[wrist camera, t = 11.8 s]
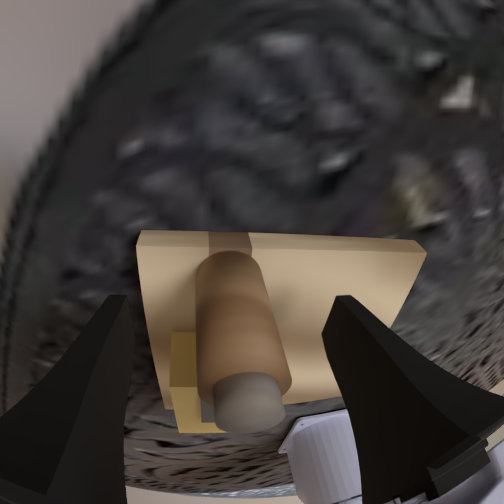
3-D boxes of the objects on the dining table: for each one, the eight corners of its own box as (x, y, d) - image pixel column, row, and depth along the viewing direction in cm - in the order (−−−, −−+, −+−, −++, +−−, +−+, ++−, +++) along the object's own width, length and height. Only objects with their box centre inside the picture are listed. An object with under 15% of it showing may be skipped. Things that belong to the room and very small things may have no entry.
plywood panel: (342, 382, 20) (347, 394, 19) (165, 394, 18) (165, 408, 17) (414, 240, 14) (427, 252, 13) (141, 230, 11) (136, 245, 10)
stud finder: (246, 386, 16) (255, 434, 13) (178, 387, 15) (179, 437, 13) (258, 331, 14) (271, 390, 11) (171, 331, 13) (169, 393, 10)
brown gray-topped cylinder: (257, 302, 12) (289, 432, 8) (195, 303, 12) (201, 440, 7) (265, 250, 11) (312, 391, 6) (195, 250, 11) (197, 400, 6)
